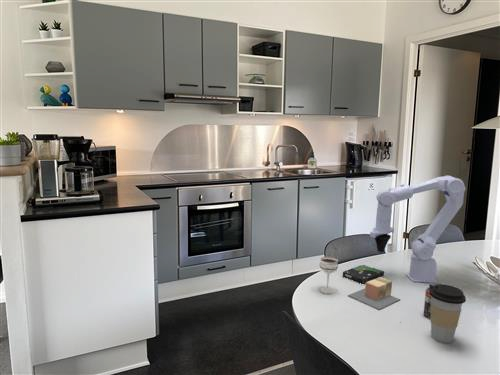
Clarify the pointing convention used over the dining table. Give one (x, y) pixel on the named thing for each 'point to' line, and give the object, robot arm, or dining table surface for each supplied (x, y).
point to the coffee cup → (445, 311)
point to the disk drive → (363, 274)
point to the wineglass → (328, 270)
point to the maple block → (378, 288)
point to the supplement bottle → (428, 300)
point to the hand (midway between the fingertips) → (380, 251)
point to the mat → (371, 302)
